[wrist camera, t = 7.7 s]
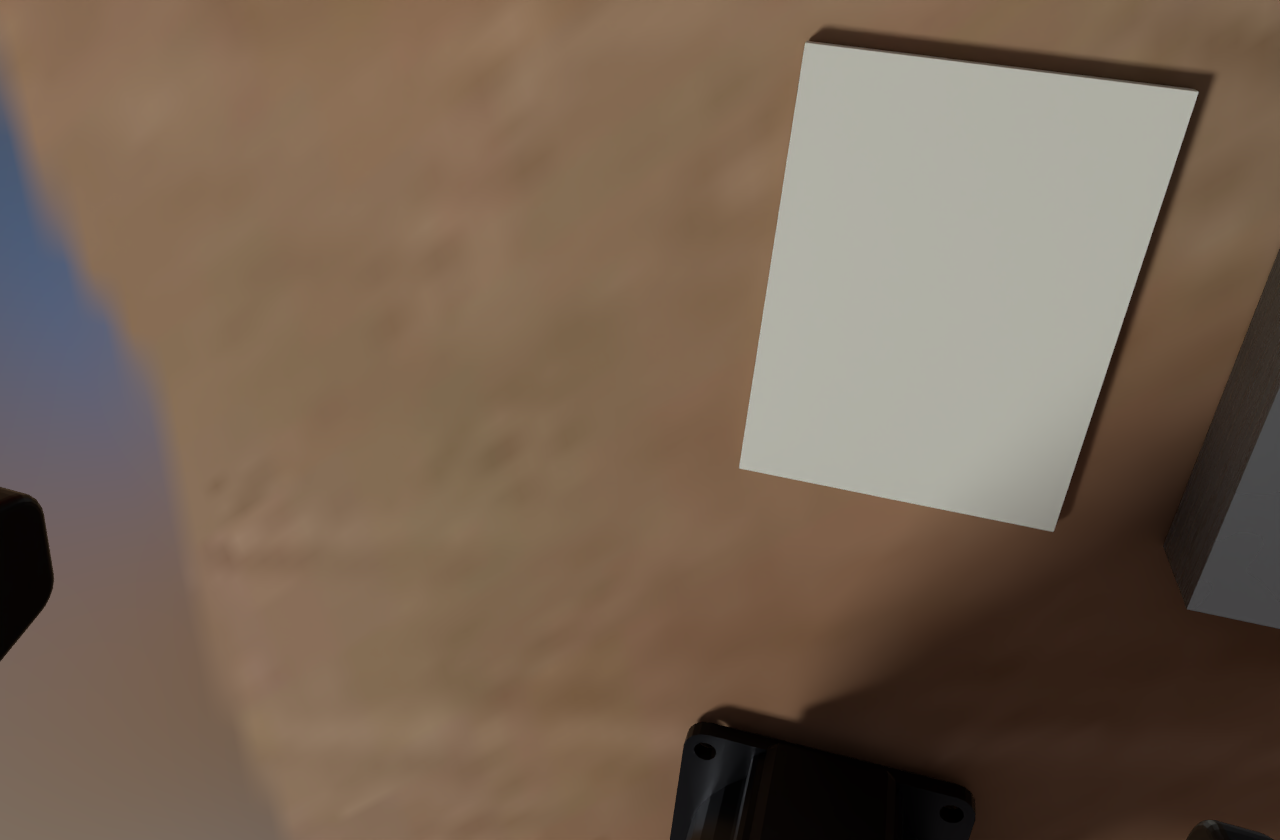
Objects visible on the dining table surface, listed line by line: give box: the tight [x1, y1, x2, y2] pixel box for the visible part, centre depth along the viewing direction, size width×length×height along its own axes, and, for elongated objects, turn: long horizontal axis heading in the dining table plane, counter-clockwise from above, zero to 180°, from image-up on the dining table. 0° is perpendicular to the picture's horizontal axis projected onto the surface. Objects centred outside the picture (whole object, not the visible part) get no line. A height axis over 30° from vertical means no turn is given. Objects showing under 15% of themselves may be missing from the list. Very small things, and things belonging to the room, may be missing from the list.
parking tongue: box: [739, 41, 1199, 532], centre depth 18 cm, size 8×6×1 cm
